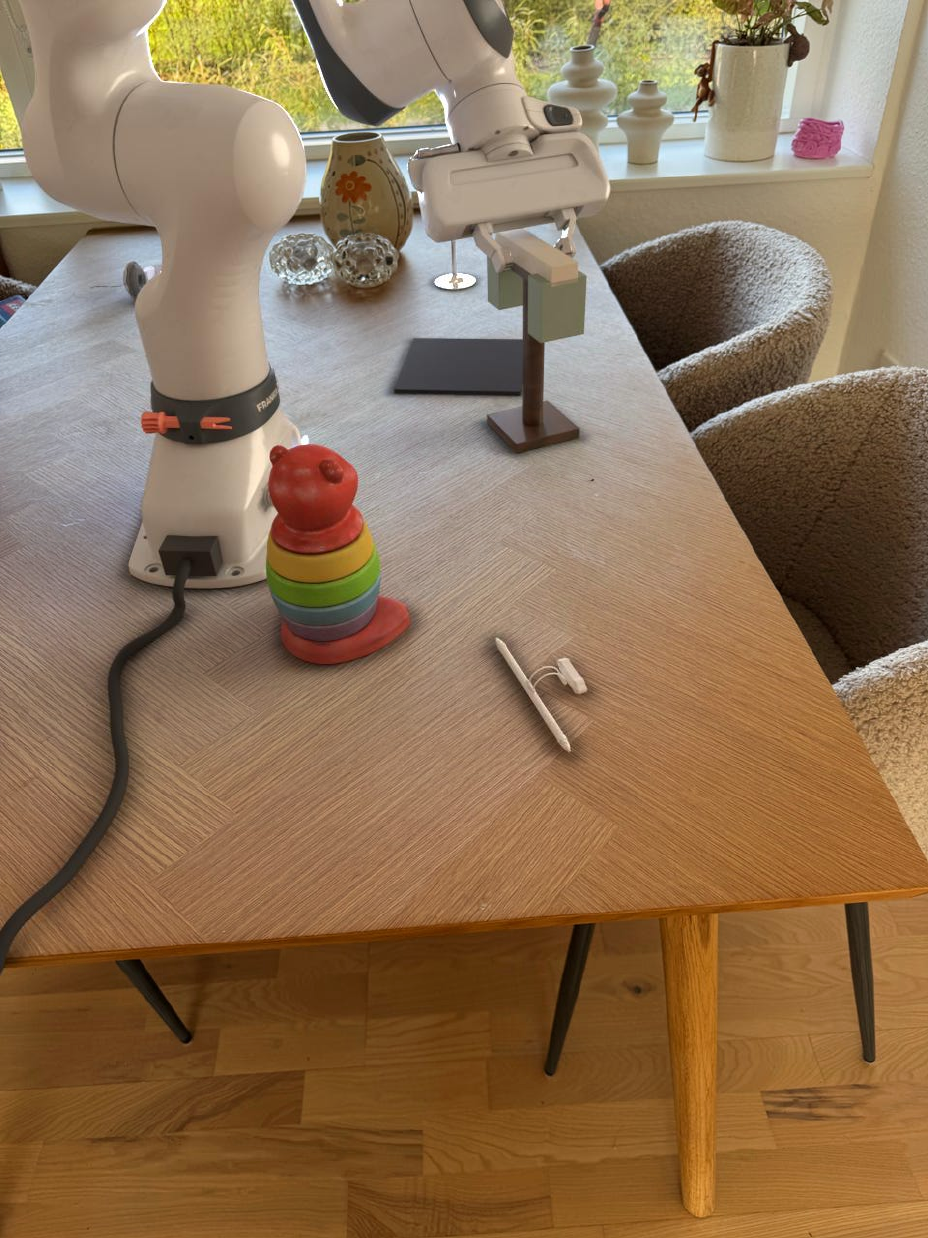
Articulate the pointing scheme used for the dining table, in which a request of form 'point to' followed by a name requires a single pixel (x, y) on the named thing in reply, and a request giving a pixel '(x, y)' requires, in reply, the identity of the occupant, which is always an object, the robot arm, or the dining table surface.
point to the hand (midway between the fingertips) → (537, 263)
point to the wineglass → (454, 275)
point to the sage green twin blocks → (540, 286)
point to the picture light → (567, 676)
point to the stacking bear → (325, 560)
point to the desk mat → (462, 367)
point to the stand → (532, 399)
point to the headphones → (137, 277)
